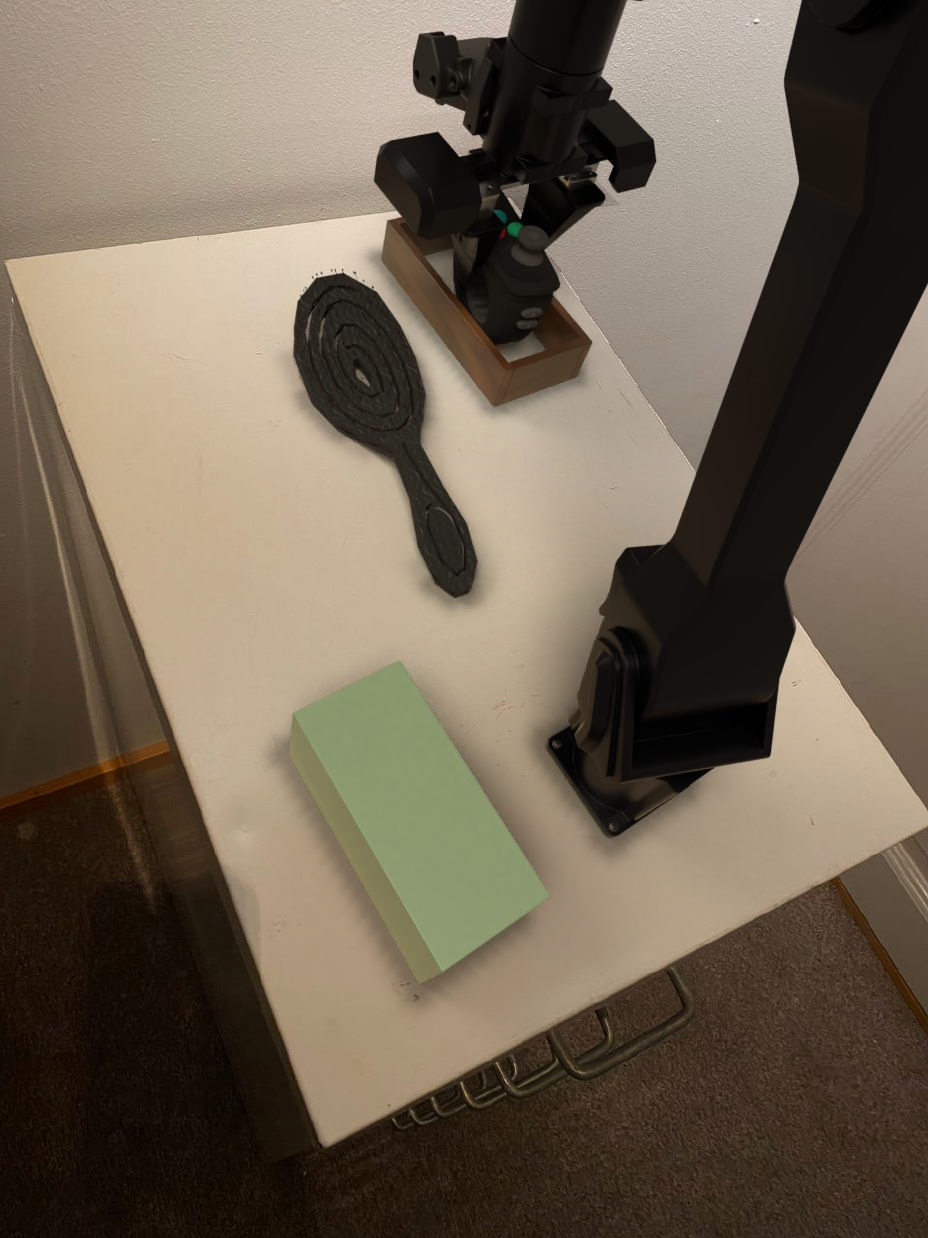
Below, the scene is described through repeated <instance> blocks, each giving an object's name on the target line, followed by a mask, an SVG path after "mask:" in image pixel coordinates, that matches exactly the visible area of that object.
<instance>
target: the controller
mask: <svg viewBox="0 0 928 1238" xmlns="http://www.w3.org/2000/svg"><path fill="white" fill-rule="evenodd" d="M494 212H495V213H496V214H497V216H498V217H499V218H500V219H501V220H502V221H503V223H504V224H505V228H504V230H503V232H502V234H501V235H500V237H499V239H498V241H497V242H496V244H495V246H494V247H493V249H492V251H491V253H490V254H489V256H488V258H487V259H486V261H485V263H484V265H483V266H482V268H481V270H480V272H479V273H478V275H477V276H476V278H475V279H474V280H473V282H472V283H471V285H469V286H464V285H463V283H462V282H461V281H460V280H459V278H458V276H457V269H456V263H455V256H454V250H452V280H453V288H454V294H455V296H456V297H457V298H458V300H459V301H460V302H461V303H462V305H463V306H464V307H465V308H466V310H467V311H468V312H469V313H470V315H471V316H472V317H473V319H474V320H475V321H476V322H477V324H478V325H479V326H480V327H481V329H482V330H483V331H484V332H485V334H486V335H487V336H488V337H489V339H490V340H491V341H492V343H493V344H494V345H495V346H501V345H502V346H503V345H508V344H516V343H519V342H521V341H522V340H524V339H526V338H527V337H528V336H529V335H530V334H531V333H533V332H532V331H533V330H534V329H535V327H536V326H537V325H538V322H539V321H540V319H541V318H542V316H543V315H544V313H545V311H546V310H547V308H548V307H549V305H550V304H551V302H552V299H553V295H554V294H555V293H556V292H557V291H558V290H559V289H560V288H561V284H562V283H561V280H560V277H559V275H558V273H557V271H556V269H555V267H554V266H553V264H552V262H551V259H550V258H549V256H548V254H547V252H546V250H545V251H544V249H545V248H546V247H547V244H548V242H549V238H548V236H547V234H546V232H545V231H543V230H542V229H540V228H539V227H536V226H533V225H526V226H524V224H523V222H522V221H521V219H520V218H521V217H520V216H519V215H518V212H517V211H516V209H515V207H514V206H513V205H512V203H511V202H510V200H509V199H508V197H507V195H506V193H504V191H503V190H501V192H500V196H499V198H498V199H497V202H496V205H495V209H494Z"/></svg>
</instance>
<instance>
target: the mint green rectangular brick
mask: <svg viewBox="0 0 928 1238" xmlns="http://www.w3.org/2000/svg"><path fill="white" fill-rule="evenodd" d="M291 716H292V717H291V726H290V727H291V728H290V736H289V737H290V738H289V748H288V756H289V757H290V759H291V761H292V763H293V765H294V766H295V768H296V770H297V772H298V773H299V775H300V777H301V779H302V780H303V781H304V782H303V783H304V784H305V786H306V788H307V789H308V791H309V793H310V795H311V797H312V798H313V800H314V801H315V803H316V805H317V807H318V808H319V811H320V812H321V814H322V815H323V817H324V819H325V821H326V823H327V824H328V827H329V828H330V829H331V832H332V833H333V835H334V837H335V839H336V841H337V842H338V844H339V846H340V847H341V849H342V851H343V852H344V854H345V856H346V858H347V859H348V861H349V863H350V865H351V867H352V868H353V870H354V872H355V874H356V875H357V877H358V879H359V881H360V882H361V884H362V886H363V888H364V889H365V891H366V893H367V895H368V897H369V899H370V900H371V902H372V904H373V905H374V908H375V909H376V911H377V912H378V914H379V915H380V918H381V920H382V922H383V923H384V925H385V927H386V929H387V930H388V932H389V934H390V936H391V937H392V939H393V940H394V943H395V944H396V946H397V948H398V950H399V951H400V953H401V955H402V956H403V959H404V960H405V962H406V964H407V965H408V967H409V969H410V971H411V972H412V974H413V977H414V978H415V980H416V981H417V983H418V984H419V985H420V984H423V983H424V982H425V983H426V982H427V981H429V980H431V979H432V978H434V977H436V976H438V975H441V974H442V973H444V972H446V971H447V970H449V969H450V968H451V967H453V966H455V965H456V964H457V963H458V962H460V961H462V960H463V959H464V958H466V957H467V956H469V955H471V954H472V953H473V952H474V951H476V950H477V949H479V948H480V947H481V946H484V944H486V943H488V942H489V941H490V940H492V939H493V938H494V937H496V936H497V935H499V934H500V933H501V932H503V931H504V930H506V929H507V928H509V927H510V926H512V925H513V924H515V923H516V922H517V921H518V920H520V919H522V918H523V917H524V916H526V915H528V913H530V912H531V911H533V910H534V909H536V908H537V907H539V906H540V905H542V904H543V903H544V902H546V901H547V900H549V899H550V898H551V896H552V895H551V893H550V892H549V891H548V889H547V887H546V886H545V884H544V882H542V880H541V878H540V877H539V875H538V874H537V872H536V870H535V869H534V867H533V866H532V864H531V862H530V861H529V859H528V858H527V856H526V855H525V853H524V851H522V849H521V847H520V845H519V844H518V841H516V839H515V838H514V836H513V835H512V834H513V833H511V832H510V830H509V829H508V827H507V825H506V824H505V822H504V820H503V819H502V817H501V815H500V814H499V813H498V811H497V810H496V808H495V806H494V805H493V803H492V801H491V800H490V799H489V797H488V795H487V794H486V792H485V791H484V789H483V788H482V786H481V784H480V783H479V781H478V780H477V778H476V777H475V775H474V773H473V772H472V770H471V769H470V767H469V766H468V764H467V762H466V761H465V759H464V758H463V756H462V755H461V753H460V751H459V749H458V748H457V747H456V745H455V744H454V742H453V741H452V739H451V738H450V736H449V734H448V733H447V731H446V730H445V728H444V727H443V725H442V724H441V722H440V720H439V719H438V717H437V716H436V713H434V711H433V709H432V708H431V706H430V705H429V703H428V701H427V700H426V698H425V696H424V695H423V693H422V692H421V691H420V689H419V687H418V686H417V684H416V683H415V681H414V680H413V678H412V677H411V675H410V673H409V672H408V670H407V668H406V667H405V666H404V664H403V662H402V661H401V660H400V659H399V660H397V661H395V662H393V663H390V664H388V665H387V666H385V667H382V668H380V669H379V670H376V671H374V672H373V673H370V674H369V675H366V676H364V677H362V678H360V679H359V680H356V681H354V682H352V683H350V684H348V685H346V686H344V687H342V688H340V689H338V690H336V691H334V692H331V693H330V694H328V695H326V696H324V697H322V698H320V699H318V700H315V701H314V702H312V703H310V704H308V705H306V706H304V707H302V708H300V709H298V710H296V711H294V712H292V715H291Z"/></svg>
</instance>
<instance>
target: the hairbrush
mask: <svg viewBox="0 0 928 1238" xmlns="http://www.w3.org/2000/svg"><path fill="white" fill-rule="evenodd" d="M333 271H334V272H335V273H333ZM330 272H331V273H332V274H329V275H324V276H323V271H320V275H322V276H319V277H318V272H316V273H315V276H316V277H315V278H314V275H311V279H313V281H312V282H311V283H310V285H309V286H308V287H307V286H304V289H302V292H303V294H299V299H298V300H297V302H296V303H297V304H296V308H295V309H296V310H295V315H294V321H293V322H294V323H293V351H292V353H293V354H292V355H293V358H294V361H295V363H296V366H297V369H298V373H299V375H300V377H301V379H302V383H303V385H304V388H305V390H306V392H307V395H308V398H309V400H310V403H311V405H312V406H313V407H314V408H315V409H316V410H317V411H318V412H319V413H320V414H321V415H322V416H323V417H324V418H325V419H326V420H327V421H328V422H329V423H330V424H331V425H332V426H333V427H334V428H335V429H336V430H337V431H339V432H341V433H343V434H345V435H347V436H349V437H350V438H352V439H355V440H356V441H358V442H360V443H362V444H364V445H366V446H368V447H370V448H371V449H375V450H376V451H378V452H380V453H382V454H384V455H387V456H388V457H390V458H392V459H393V461H394V463H395V466H396V468H397V472H398V473H399V476H400V479H401V482H402V484H403V487H404V489H405V492H406V495H407V497H408V500H409V505H410V512H411V516H412V522H413V529H414V534H415V540H416V545H417V549H418V551H419V552H420V554H421V557H422V559H423V561H424V563H425V565H426V567H427V569H428V571H429V573H430V575H431V577H432V579H433V581H434V583H435V584H436V585H437V586H439V587H440V588H441V589H442V590H443V591H444V592H446V593H447V594H449V595H450V596H452V597H453V598H454V599H455V598H459V597H461V596H464V595H466V594H469V592H470V590H472V588H473V583H474V581H475V577H476V576H475V574H476V570H477V566H478V557H477V554H476V550H475V547H474V543H473V540H472V535H471V533H470V529H469V525H468V522H467V521H466V519H465V518H464V515H462V513H461V511H460V510H459V508H458V507H457V505H456V504H455V502H454V500H453V498H452V497H451V496H450V494H449V493H448V491H447V490H446V489H447V488H446V487H445V485H444V484H443V483H442V480H441V479H440V477H439V475H438V473H437V471H436V469H435V467H434V466H433V463H432V461H431V460H430V458H429V456H428V454H427V453H426V451H425V449H424V447H423V446H422V444H421V439H422V438H421V437H422V436H421V435H422V425H423V422H424V411H425V402H426V395H427V393H426V391H425V387H424V382H423V379H422V376H421V371H420V368H419V364H418V360H417V356H416V355H415V352H414V350H413V348H412V346H411V344H410V342H409V339H408V338H407V336H406V334H405V332H404V330H403V328H402V326H401V324H400V323H399V321H398V320H397V318H396V317H395V315H394V314H393V312H392V311H391V310H390V308H389V306H387V304H386V302H385V301H384V299H383V298H382V297H381V295H380V293H379V292H378V291H377V290H375V289H374V287H375V286H374V285H372V286H371V287H369V286H368V285H366V284H365V279H362V282H363V283H362V282H360V281H359V280H358V276H357V271H355V270H353V271H352V272H353V274H352V275H354V276H355V278H354V277H352V276H350V275H348V274H347V273H345V272H344V268H343V267H342V268H341V272H339V273H337V270H336V268H334V270H333V268H330ZM309 318H310V321H309ZM308 323H309V327H308ZM322 323H323V325H322ZM307 328H309V329H308V336H307ZM321 328H322V331H321ZM320 333H321V337H320ZM336 338H337V340H336ZM356 368H359V370H360V371H361V373H362V374H363V376H362V377H361V379H360V378H358V376H357V373H356V372H357V370H356ZM364 377H365V378H366V381H367V382H368V384H366V383H365V381H363V380H364ZM396 408H398V409H397V410H396ZM410 417H411V418H410ZM409 419H410V420H409Z"/></svg>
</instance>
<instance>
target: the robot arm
mask: <svg viewBox="0 0 928 1238" xmlns="http://www.w3.org/2000/svg"><path fill="white" fill-rule="evenodd" d="M632 1H634V2H643V1H644V0H632ZM627 2H628V0H515V2H514V7H513V11H512V16H511V19H510V22H509V23H510V24H509V28H508V31H507V35H506V36H502V37H490V36H489V37H488V36H482V37H480V36H479V37H472V38H466V39H458V38H457V36H456V35H454V34H445V32H444V31H441V30H438V31H430V32H423V33H422V32H421V33H418V37H417V41H416V45H415V50H414V54H413V57H412V84H413V86H414V89H415V91H416V92H417V94H419V95H421V96H424V97H427V98H429V99H431V100H434V103H435V104H436V105H438V106H439V107H442V106H445V105H446V106H450V107H451V108H454V109H457V110H459V111H461V112H464V115H463V119H462V120H463V121H462V126H463V127H464V128H465V130H466V131H468V132H469V134H470V135H471V136H473V137H476V136H479V137H480V138H481V139H482V143H481V147H478V148H477V147H476V148H472V149H469V150H468V153H467V154H466V155H461V156H460V155H459V154H458V152H456V150H454V148H453V146H451V144H450V143H449V142H448V141H447V140H446V139H445V138H444V137H443V135H442V134H441V133H440V132H439V131H434V132H427V133H423V134H417V135H412V136H407V137H399V138H396V139H395V138H394V139H390V140H389V141H386V142H384V143H383V144H381V145H380V146H379V149H378V152H377V155H376V160H375V169H374V175H373V183H374V184H375V185H376V187H377V188H378V189H379V190H380V191H381V193H382V194H383V196H384V197H385V198H386V199H387V200H388V201H389V203H390V204H391V206H393V208H394V209H395V210H396V211H397V213H398V214H399V215H400V217H402V218H403V219H404V220H405V222H406V223H407V224H408V225H409V227H410V228H411V229H412V230H413V232H414V233H415V234H416V235H417V236H419V237H422V238H425V239H428V240H433V239H437V238H441V237H445V236H449V235H451V236H452V243H453V248H452V249H453V250H454V256H455V263H456V269H457V276H458V278H459V280H460V281H461V282H462V283H463V285H464V286H469V285H471V283H472V282H473V280H474V279H475V278H476V276H477V275H478V273H479V272H480V270H481V268H482V266H483V265H484V263H485V261H486V259H487V258H488V256H489V254H490V253H491V251H492V249H493V247H494V246H495V244H496V242H497V241H498V239H499V237H500V235H501V234H502V232H503V230H504V228H505V224H504V223H503V221H502V220H501V219H500V218H499V217H498V216H497V214H496V213H495V212H494V209H495V205H496V202H497V199H498V198H499V196H500V192H501V190H502V191H503V190H507V189H512V188H516V187H521V186H526V185H528V188H527V193H526V197H525V200H524V204H523V208H522V212H521V215H520V217H519V218H520V219H521V221H522V222H523V224H524V226H526V225H533V226H536V227H539V228H540V229H542V230H543V231H545V232H546V234H547V236H548V238H549V242H548V244H547V247H546V248H545V249H544V251H545V252H546V250H547V249H548V248H549V247H550V246H551V245H552V244H553V243H554V242H556V241H557V240H558V239H559V238H560V237H562V236H563V235H564V234H565V233H567V231H568V230H569V229H571V228H572V227H573V226H574V225H576V224H577V223H578V222H579V221H580V220H582V219H583V218H585V216H587V215H588V214H589V213H590V212H592V210H594V209H595V208H597V207H598V208H599V207H601V206H603V205H604V203H605V201H606V199H607V196H606V194H605V193H604V191H603V190H602V189H601V188H600V187H599V186H598V185H597V184H596V181H597V178H598V175H599V174H598V173H597V170H598V168H599V165H600V163H601V162H604V161H608V162H609V163H610V164H611V165H612V167H611V171H610V173H609V176H608V179H607V180H608V182H609V184H610V185H611V188H612V189H613V190H614V191H615V193H617V194H622V193H625V192H629V191H634V190H638V189H641V188H645V187H646V186H647V184H648V182H649V179H650V177H651V175H652V173H653V170H654V169H655V167H656V166H655V165H656V163H657V154H656V146H655V139H654V138H653V136H651V135H650V134H649V133H648V132H647V131H646V130H645V128H643V126H642V125H640V123H639V122H637V121H636V120H635V119H634V118H633V116H631V114H629V112H628V111H627V110H626V109H625V108H624V107H623V106H622V105H621V104H620V103H619V101H617V100H616V99H615V98H613V99H611V96H612V93H613V90H614V87H613V86H612V85H611V84H610V83H609V82H608V81H607V80H606V79H605V78H604V77H603V76H602V75H603V72H604V69H605V67H606V63H607V60H608V57H609V54H610V51H611V49H612V46H613V43H614V39H615V37H616V34H617V31H618V29H619V25H620V23H621V19H622V18H623V17H622V16H623V14H624V11H625V9H626V5H627ZM783 89H784V95H785V101H786V102H785V103H786V107H787V114H788V120H789V127H790V134H791V138H792V139H791V140H792V145H793V151H794V157H795V164H796V170H797V175H798V184H797V188H796V192H795V196H794V198H793V203H792V206H791V208H790V211H789V214H788V217H787V220H786V222H785V225H784V228H783V229H782V233H781V236H780V239H779V241H778V244H777V247H776V250H775V252H774V255H773V258H772V261H771V263H770V266H769V269H768V272H767V275H766V278H765V280H764V282H763V283H764V284H763V286H762V289H761V292H760V295H759V297H758V300H757V302H756V306H755V308H754V311H753V313H752V317H751V320H750V323H749V325H748V328H747V331H746V334H745V336H744V339H743V341H742V344H741V347H740V350H739V353H738V356H737V358H736V361H735V364H734V366H733V369H732V373H731V375H730V378H729V381H728V384H727V386H726V389H725V392H724V395H723V398H722V401H721V402H720V406H719V408H718V411H717V414H716V417H715V419H714V422H713V425H712V427H711V431H710V434H709V436H708V439H707V442H706V444H705V448H704V451H703V453H702V455H701V459H700V462H699V464H698V467H697V470H696V472H695V475H694V478H693V481H692V483H691V487H690V490H689V492H688V495H687V498H686V501H685V503H684V506H683V509H682V512H681V514H680V517H679V520H678V523H677V526H676V528H675V531H674V533H673V535H672V537H671V538H670V539H669V540H668V541H667V542H665V543H663V544H650V545H637V546H628V547H625V548H624V549H623V551H622V553H621V554H620V555H619V557H618V558H617V560H616V561H615V563H614V567H613V573H612V578H611V583H610V586H609V590H608V593H607V595H606V597H605V600H604V602H603V603H602V604H601V605H600V606H599V608H598V614H599V616H602V617H603V619H602V621H601V624H600V627H599V630H598V633H597V635H596V636H595V638H594V640H593V643H592V647H591V650H590V653H589V656H588V660H587V663H586V666H585V669H584V671H583V675H582V678H581V682H580V684H579V688H578V690H577V695H576V700H577V704H578V705H577V706H576V707H575V709H573V711H572V712H571V713H570V714H569V715H568V719H567V722H568V723H569V725H568V726H567V727H566V728H564V729H562V730H560V731H558V732H557V733H555V734H554V735H552V736H551V737H549V738H548V740H547V741H546V742H545V748H546V750H547V752H548V753H549V755H550V756H551V758H552V759H553V761H554V762H555V764H556V765H557V766H558V768H559V769H560V771H561V773H562V774H563V776H564V777H565V779H566V780H567V782H568V783H569V784H570V786H571V787H572V789H573V790H574V791H575V793H576V794H577V796H578V798H579V799H580V801H581V803H582V804H583V805H584V807H585V808H586V809H587V811H588V813H589V814H590V815H591V817H592V818H593V820H594V821H595V822H596V824H597V826H598V827H599V829H600V830H601V832H602V833H603V834H604V836H605V837H606V838H609V839H614V838H616V837H618V836H620V835H622V834H623V833H624V832H626V831H627V830H628V829H630V828H631V827H633V826H635V825H636V824H637V823H639V822H640V821H642V820H643V819H644V818H646V817H648V816H649V815H650V814H652V813H653V812H654V811H657V809H659V808H661V807H662V806H663V805H664V804H666V803H668V802H669V801H670V800H672V799H673V798H675V797H676V796H678V795H680V794H681V793H682V792H684V791H685V790H686V789H688V788H689V787H691V785H692V784H693V783H696V781H698V780H699V779H701V778H703V776H705V775H707V774H708V773H709V772H711V771H712V770H714V769H715V768H719V767H724V766H731V765H737V764H742V763H747V762H754V761H759V760H760V761H761V760H765V759H769V758H770V757H771V756H772V750H773V749H772V748H773V741H774V732H775V722H776V714H777V705H778V697H779V690H780V689H779V688H780V680H781V677H782V673H783V670H784V667H785V664H786V662H787V658H788V655H789V653H790V649H791V647H792V643H793V641H794V638H795V635H796V632H797V623H796V620H795V615H794V611H793V607H792V603H791V599H790V595H789V590H788V586H787V582H786V580H787V576H788V572H789V570H790V567H791V566H792V564H793V562H794V559H795V557H796V555H797V553H798V551H799V549H800V547H801V545H802V543H803V541H804V539H805V537H806V534H807V533H808V531H809V529H810V526H811V525H812V522H813V521H814V518H815V516H816V514H817V512H818V510H819V508H820V506H821V504H822V502H823V500H824V497H825V496H826V493H827V492H828V490H829V488H830V486H831V483H832V482H833V479H834V478H835V475H836V473H837V471H838V469H839V467H840V465H841V463H842V461H843V459H844V456H845V454H846V453H847V451H848V449H849V447H850V444H851V442H852V440H853V438H854V436H855V435H856V432H857V430H858V428H859V426H860V424H861V422H862V420H863V417H864V416H865V413H866V411H867V409H868V407H869V406H870V404H871V401H872V400H873V397H874V395H875V393H876V391H877V389H878V387H879V385H880V383H881V381H882V379H883V377H884V375H885V372H886V371H887V369H888V366H889V365H890V362H891V361H892V358H893V357H894V354H895V352H896V350H897V348H898V346H899V345H900V342H901V340H902V338H903V336H904V333H905V332H906V329H907V327H908V325H909V324H910V321H911V320H912V317H913V315H914V314H915V311H916V309H917V308H918V306H919V304H920V301H921V299H922V297H923V295H924V293H925V291H926V289H927V288H928V0H801V1H800V6H799V10H798V14H797V19H796V23H795V27H794V31H793V35H792V40H791V45H790V48H789V53H788V57H787V61H786V65H785V70H784V75H783ZM453 250H452V251H453ZM553 743H556V745H557V746H558V747H554V744H553ZM610 825H611V826H613V828H614V831H612V830H611V828H610Z"/></svg>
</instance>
